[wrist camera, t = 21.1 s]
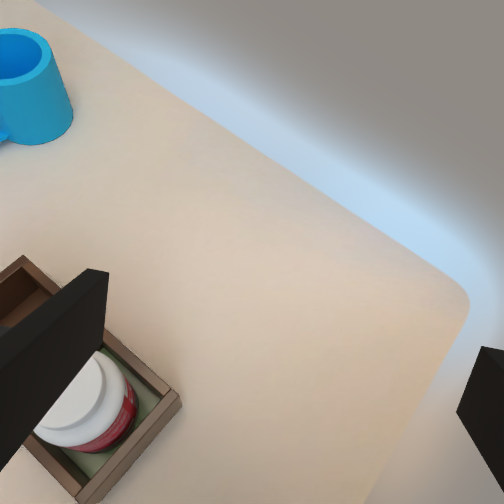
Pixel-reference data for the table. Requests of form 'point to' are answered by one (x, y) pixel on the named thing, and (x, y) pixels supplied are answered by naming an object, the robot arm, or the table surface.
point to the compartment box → (136, 372)
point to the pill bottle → (92, 409)
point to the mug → (30, 90)
